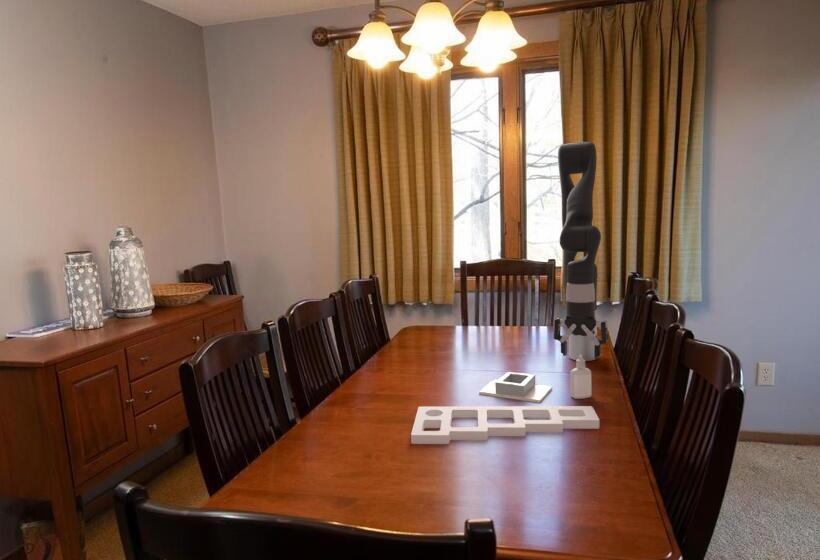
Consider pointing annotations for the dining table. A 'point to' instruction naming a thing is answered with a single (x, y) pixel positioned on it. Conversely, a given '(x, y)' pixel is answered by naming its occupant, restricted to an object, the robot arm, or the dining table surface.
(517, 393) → the holder stand
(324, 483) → the dining table surface
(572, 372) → the eye dropper bottle
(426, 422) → the holder
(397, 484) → the dining table surface
